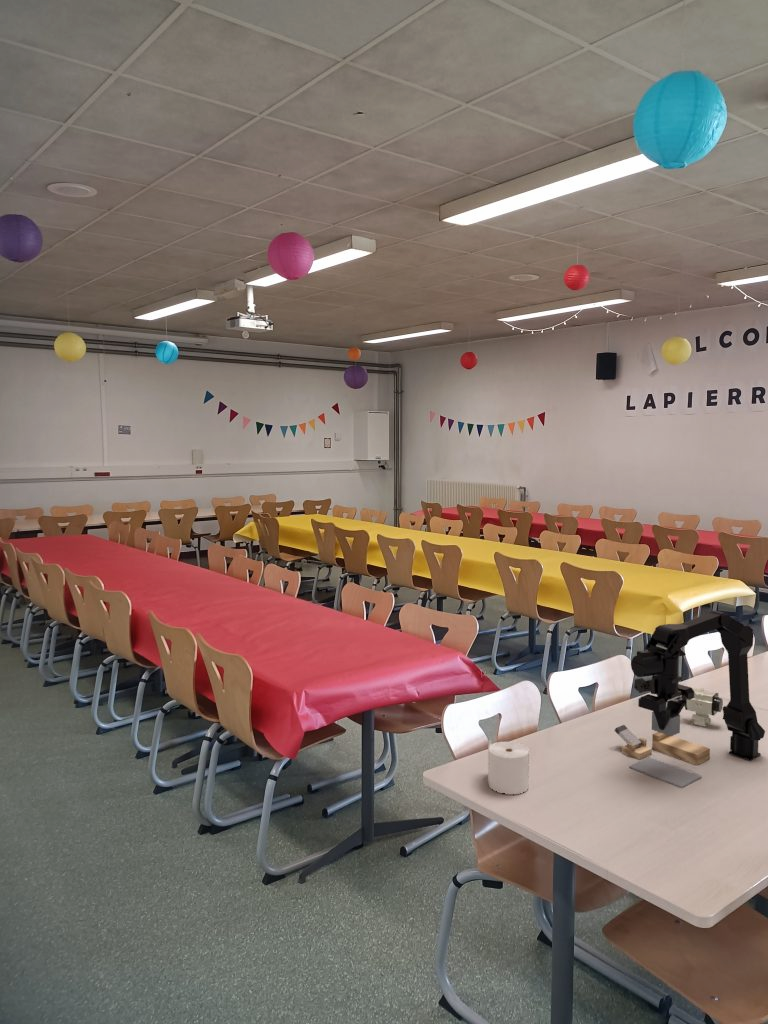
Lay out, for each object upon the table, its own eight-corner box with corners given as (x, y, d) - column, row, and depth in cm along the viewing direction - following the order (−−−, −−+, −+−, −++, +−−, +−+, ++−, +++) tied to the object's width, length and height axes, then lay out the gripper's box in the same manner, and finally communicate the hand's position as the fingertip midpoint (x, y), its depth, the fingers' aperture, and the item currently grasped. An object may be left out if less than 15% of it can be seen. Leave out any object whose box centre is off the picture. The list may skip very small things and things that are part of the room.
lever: (642, 743, 212) (624, 724, 217) (635, 747, 209) (616, 727, 214) (641, 746, 212) (622, 727, 217) (633, 749, 210) (614, 730, 215)
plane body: (709, 758, 208) (710, 743, 208) (696, 765, 204) (697, 749, 203) (665, 743, 219) (665, 728, 219) (652, 749, 215) (652, 734, 214)
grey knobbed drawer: (679, 732, 197) (680, 712, 197) (671, 736, 195) (672, 716, 194) (659, 726, 202) (660, 706, 201) (651, 729, 199) (652, 709, 199)
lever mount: (652, 754, 211) (652, 742, 211) (639, 760, 207) (639, 748, 207) (634, 747, 216) (634, 735, 216) (620, 753, 212) (621, 741, 212)
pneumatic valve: (684, 718, 239) (685, 683, 238) (722, 726, 232) (723, 690, 231) (679, 723, 235) (680, 687, 234) (717, 732, 228) (718, 695, 227)
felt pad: (701, 777, 196) (701, 776, 196) (682, 788, 190) (682, 786, 190) (648, 758, 208) (648, 756, 208) (628, 767, 202) (628, 766, 202)
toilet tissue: (521, 798, 184) (521, 761, 184) (477, 788, 190) (477, 751, 189) (534, 782, 194) (534, 746, 193) (492, 772, 200) (492, 737, 199)
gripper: (659, 659, 209) (658, 711, 210) (621, 671, 197) (620, 727, 199) (696, 668, 200) (694, 723, 201) (658, 681, 189) (657, 739, 190)
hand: (665, 727), depth 198 cm, fingers closed on grey knobbed drawer, 4 cm apart
